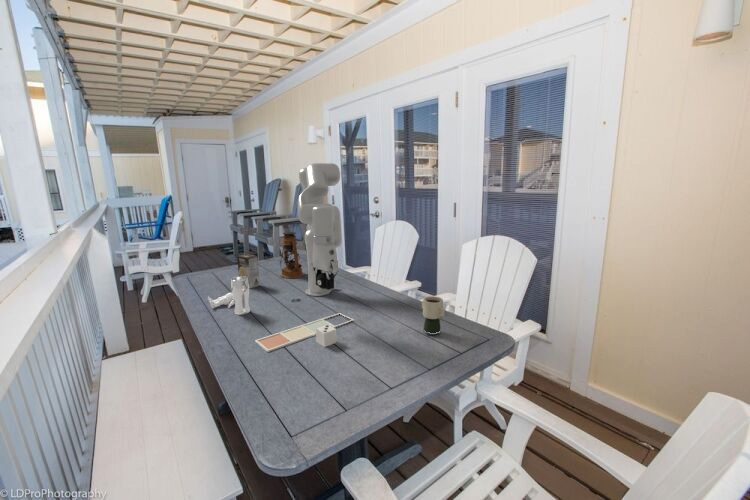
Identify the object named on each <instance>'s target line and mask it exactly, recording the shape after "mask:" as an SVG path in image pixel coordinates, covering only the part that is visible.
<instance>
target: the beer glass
mask: <svg viewBox="0 0 750 500" xmlns="http://www.w3.org/2000/svg"><path fill="white" fill-rule="evenodd" d="M230 283H231V286H230V289H231V293H232V295H233V299H234V302H235V304H234V314H235V315H237V316H243V315H246V314H249V313H250V312H251V309H250V306H249V298H250V288H249V281H248V277H247V276H239V275H237V276H233V277H232V278H230Z"/></svg>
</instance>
